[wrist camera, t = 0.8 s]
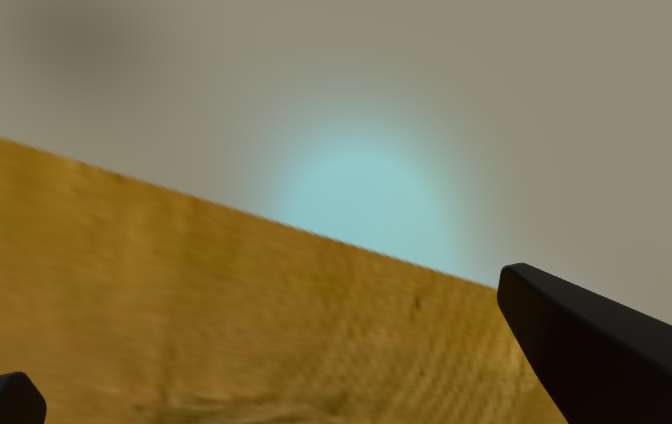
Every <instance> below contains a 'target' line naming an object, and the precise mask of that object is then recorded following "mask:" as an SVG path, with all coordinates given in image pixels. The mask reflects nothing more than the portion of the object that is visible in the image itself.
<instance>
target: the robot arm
mask: <svg viewBox="0 0 672 424" xmlns="http://www.w3.org/2000/svg"><path fill="white" fill-rule="evenodd" d="M497 302H498V305H499V308H500V310H501V312H502V314H503V315H504V317H505V319H506V321H507V323H508V325H509V327H510V328H511V330H512V332H513V334H514V336H515V338H516V340H517V341H518V343H519V345H520V347H521V349H522V351H523V352H524V354H525V356H526V358H527V360H528V362H529V364H530V365H531V367H532V369H533V370H534V372H535V374H536V375H537V377H538V379H539V380H540V382H541V383H542V385H543V386H544V388H545V389H546V391H547V392H548V394H549V395H550V397H551V398H552V400H553V401H554V403H555V404H556V406H557V407H558V408H559V410H560V411H561V413H562V414H563V416H564V417H565V419H566V420H567V422H568V423H569V424H672V325H669V324H667V323H665V322H662V321H660V320H657V319H655V318H653V317H651V316H648V315H646V314H643V313H641V312H639V311H637V310H634V309H632V308H629V307H627V306H625V305H622V304H620V303H618V302H615V301H613V300H610V299H608V298H606V297H603V296H601V295H599V294H596V293H594V292H592V291H589V290H587V289H585V288H582V287H580V286H578V285H575V284H573V283H570V282H568V281H566V280H563V279H561V278H559V277H556V276H554V275H552V274H549V273H547V272H544V271H542V270H540V269H537V268H535V267H533V266H530V265H528V264H525V263H516V264H512V265H507V266H505V267H503V268H502V270H501V274H500V280H499V286H498V292H497ZM46 409H47V407H46V402H45V399H44V398H43V396H42V395H41V393H40V392H39V391H38V389H37V388H36V387H35V385H34V384H33V383H32V381H31V380H30V379H29V377H28V376H27V375H26V374H25V373H23V372H12V373H8V374H3V375H0V424H44V422H45V417H46Z"/></svg>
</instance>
